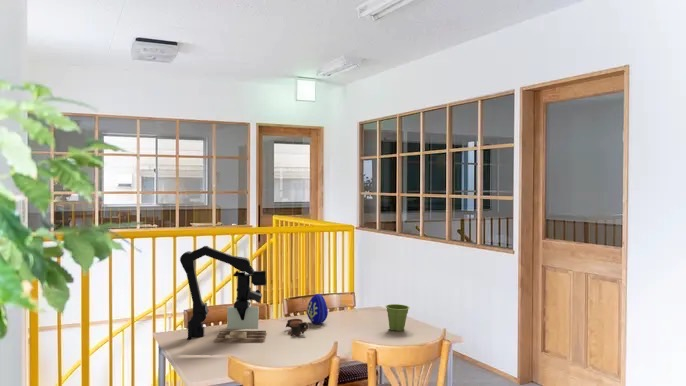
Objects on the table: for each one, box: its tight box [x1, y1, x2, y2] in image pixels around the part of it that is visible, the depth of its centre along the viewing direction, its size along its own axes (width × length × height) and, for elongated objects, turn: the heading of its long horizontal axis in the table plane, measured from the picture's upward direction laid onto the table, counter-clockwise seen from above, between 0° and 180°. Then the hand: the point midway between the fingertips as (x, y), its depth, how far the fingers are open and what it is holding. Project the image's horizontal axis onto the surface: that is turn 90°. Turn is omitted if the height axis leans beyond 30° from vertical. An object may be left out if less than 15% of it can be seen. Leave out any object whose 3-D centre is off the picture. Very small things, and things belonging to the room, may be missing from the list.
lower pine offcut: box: [225, 335, 247, 338], centre depth 237 cm, size 9×3×2 cm, turn 94°
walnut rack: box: [213, 330, 268, 343], centre depth 242 cm, size 22×15×2 cm
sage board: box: [226, 306, 260, 330], centre depth 246 cm, size 14×2×10 cm, turn 94°
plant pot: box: [385, 303, 410, 332], centre depth 264 cm, size 12×12×11 cm
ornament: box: [306, 293, 329, 325], centre depth 274 cm, size 11×9×15 cm
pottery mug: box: [285, 318, 309, 337], centre depth 253 cm, size 12×10×8 cm
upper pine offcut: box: [230, 330, 248, 337], centre depth 237 cm, size 7×3×2 cm, turn 94°
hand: (242, 319), depth 246 cm, fingers closed on sage board, 2 cm apart
